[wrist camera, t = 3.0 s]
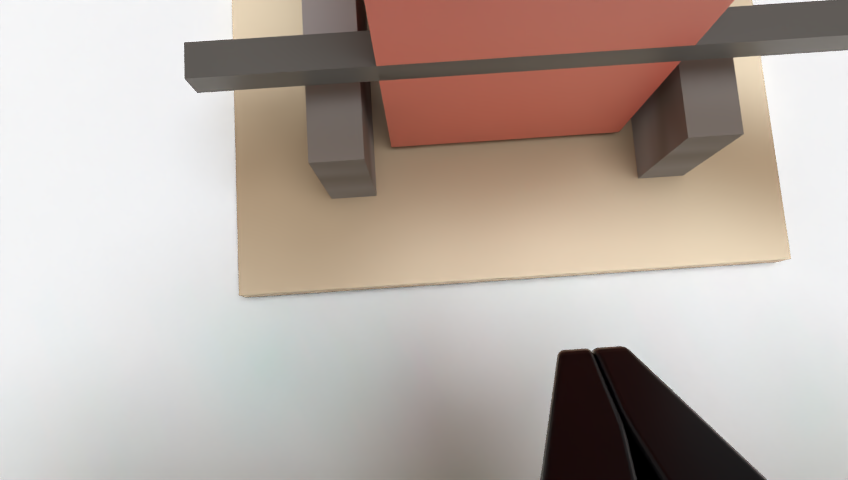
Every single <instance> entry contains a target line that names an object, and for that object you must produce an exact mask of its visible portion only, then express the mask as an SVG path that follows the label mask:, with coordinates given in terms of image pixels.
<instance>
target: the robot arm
mask: <svg viewBox="0 0 848 480" xmlns="http://www.w3.org/2000/svg"><path fill="white" fill-rule="evenodd" d="M540 480H767V479H766V478H765V477H764V476H763V475H761V474H760V473H759V472H758V471H757V470H756V469H755V468H754V467H753V466H752V465H751V464H750V463H749V462H748V461H747V460H746V459H744V458H743V457H742V456H741V455H740V454H739V453H738V452H737V451H736V450H735V449H734V448H733V447H732V446H731V445H730V444H729V443H728V442H726V441H725V440H724V439H723V438H722V437H721V436H720V435H719V434H718V433H717V432H716V431H715V430H714V429H713V428H712V427H711V426H709V425H708V424H707V423H706V422H705V421H704V420H703V419H702V418H701V417H700V416H699V415H698V414H697V413H696V412H695V411H694V410H692V409H691V408H690V407H689V406H688V405H687V404H686V403H685V402H684V401H683V400H682V399H681V398H680V397H679V396H678V395H677V394H675V393H674V392H673V391H672V390H671V389H670V388H669V387H668V386H667V385H666V384H665V383H664V382H663V381H662V380H661V379H660V378H659V377H657V376H656V375H655V374H654V373H653V372H652V371H651V370H650V369H649V368H648V367H647V366H646V365H645V364H644V363H643V362H642V361H640V360H639V359H638V358H637V357H636V356H635V355H634V354H633V353H632V352H631V351H630V350H629V349H627V348H625V347H621V346H619V347H604V348H596V349H594V350H593V351H592V352H591V351H590V350H589V349H574V350H562V351H560V352H559V353H558V357H557V364H556V371H555V378H554V385H553V392H552V400H551V407H550V414H549V421H548V428H547V435H546V443H545V450H544V457H543V464H542V471H541V478H540Z"/></svg>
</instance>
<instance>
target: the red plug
mask: <svg viewBox="0 0 848 480" xmlns="http://www.w3.org/2000/svg"><path fill="white" fill-rule="evenodd" d="M733 1H734V0H364V3H365V8H366V13H367V19H368V24H369V29H370V30H368V31H353V32H338V33H323V34H307V35H292V36H277V37H261V38H246V39H231V40H216V41H200V42H185V43H184V63H185V80H186V81H187V82H188V83H189V84H190V85H191V86H192V87H193V88H194V90H195V91H196V92H197V93H201V92H217V91H232V90H247V89H262V88H277V87H293V86H308V85H323V84H338V83H354V82H369V81H379V83H380V88H381V94H382V99H383V104H384V110H385V115H386V120H387V126H388V131H389V137H390V142H391V147H402V146H417V145H432V144H447V143H462V142H477V141H492V140H508V139H523V138H538V137H553V136H568V135H583V134H599V133H614V132H619V131H620V130H621V129H622V128H623V127H624V126H625V125H626V123H627V122H628V121H629V120H630V119H631V118H632V117H633V115H634V114H635V113H636V112H637V111H638V110H639V109H640V107H641V106H642V105H643V104H644V103H645V102H646V101H647V99H648V98H649V97H650V96H651V95H652V94H653V93H654V91H655V90H656V89H657V88H658V87H659V86H660V85H661V83H662V82H663V81H664V80H665V79H666V78H667V77H668V76H669V74H670V73H671V72H672V71H673V70H674V69H675V68H676V66H677V65H678V64H679V63H680V62H681V61H688V60H704V59H719V58H734V57H749V56H764V55H780V54H795V53H810V52H825V51H841V50H848V0H827V1H811V2H796V3H781V4H766V5H750V6H735V7H729V6H730V5H731V4H732V3H733Z"/></svg>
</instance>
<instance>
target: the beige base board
mask: <svg viewBox="0 0 848 480" xmlns="http://www.w3.org/2000/svg"><path fill="white" fill-rule="evenodd" d="M750 5H753V3H752V0H734V1H733V3H732V4H731V5H730V6H729V7H735V6H750ZM232 24H233V39H246V38H261V37H277V36H292V35H307V34H323V33H338V32H353V31H368V30H370V29H369V24H368V19H367V13H366V8H365V3H364V0H232ZM234 106H235V147H236V188H237V229H238V270H239V295H240V296H243V297H260V296H275V295H290V294H305V293H320V292H335V291H350V290H365V289H380V288H395V287H410V286H425V285H440V284H455V283H470V282H485V281H500V280H515V279H530V278H545V277H560V276H575V275H590V274H605V273H620V272H635V271H650V270H665V269H680V268H695V267H710V266H725V265H740V264H755V263H770V262H779V261H783V260H787V259H791V256H790V250H789V243H788V236H787V230H786V223H785V216H784V210H783V203H782V196H781V190H780V183H779V176H778V170H777V163H776V156H775V150H774V143H773V136H772V130H771V123H770V116H769V110H768V103H767V96H766V90H765V83H764V76H763V70H762V63H761V56H749V57H734V58H719V59H704V60H688V61H681V62H680V63H679V64H678V65H677V66H676V68H675V69H674V70H673V71H672V72H671V73H670V74H669V76H668V77H667V78H666V79H665V80H664V81H663V82H662V83H661V85H660V86H659V87H658V88H657V89H656V90H655V91H654V93H653V94H652V95H651V96H650V97H649V98H648V99H647V101H646V102H645V103H644V104H643V105H642V106H641V107H640V109H639V110H638V111H637V112H636V113H635V114H634V115H633V117H632V118H631V119H630V120H629V121H628V122H627V123H626V125H625V126H624V127H623V128H622V129H621V130H620V131H619V132H614V133H599V134H583V135H568V136H553V137H538V138H523V139H508V140H492V141H477V142H462V143H447V144H432V145H417V146H402V147H391V142H390V137H389V131H388V126H387V120H386V115H385V110H384V104H383V99H382V94H381V88H380V83H379V81H369V82H354V83H338V84H323V85H308V86H293V87H277V88H262V89H247V90H234Z"/></svg>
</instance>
